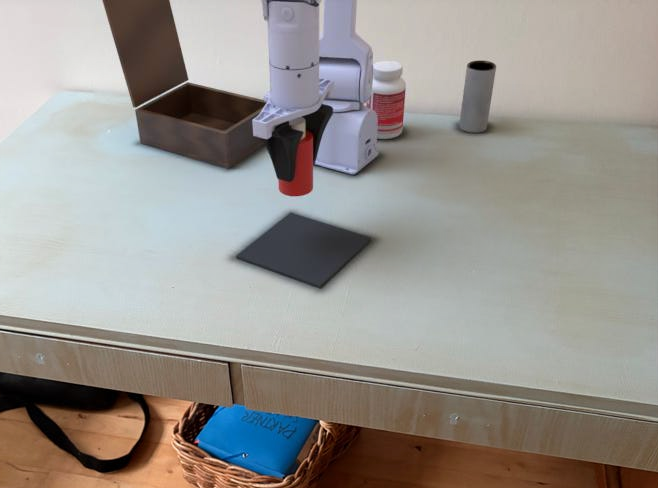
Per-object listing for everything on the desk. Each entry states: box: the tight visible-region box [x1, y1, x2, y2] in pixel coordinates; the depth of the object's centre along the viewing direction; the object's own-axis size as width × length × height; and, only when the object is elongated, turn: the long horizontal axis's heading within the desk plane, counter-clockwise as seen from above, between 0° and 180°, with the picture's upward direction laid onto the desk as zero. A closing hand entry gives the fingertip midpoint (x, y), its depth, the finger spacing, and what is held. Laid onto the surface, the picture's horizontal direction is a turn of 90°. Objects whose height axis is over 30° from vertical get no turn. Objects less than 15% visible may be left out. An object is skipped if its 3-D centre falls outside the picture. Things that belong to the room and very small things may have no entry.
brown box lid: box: [101, 0, 189, 109], centre depth 121 cm, size 19×14×4 cm
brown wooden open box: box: [134, 81, 267, 170], centre depth 124 cm, size 19×14×6 cm
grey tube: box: [459, 59, 497, 134], centre depth 122 cm, size 4×4×10 cm
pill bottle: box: [365, 60, 407, 140], centre depth 122 cm, size 6×6×11 cm
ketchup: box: [277, 117, 314, 197], centre depth 93 cm, size 4×4×9 cm
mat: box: [235, 212, 372, 289], centre depth 99 cm, size 13×13×1 cm
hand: (296, 171), depth 94 cm, fingers closed on ketchup, 4 cm apart
